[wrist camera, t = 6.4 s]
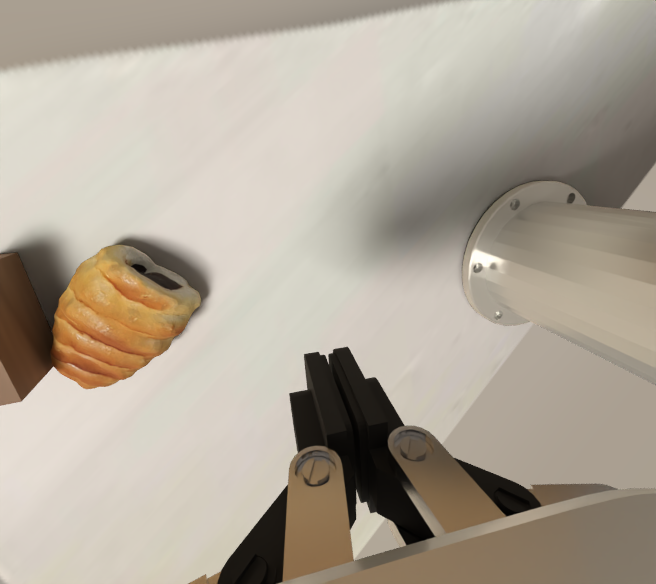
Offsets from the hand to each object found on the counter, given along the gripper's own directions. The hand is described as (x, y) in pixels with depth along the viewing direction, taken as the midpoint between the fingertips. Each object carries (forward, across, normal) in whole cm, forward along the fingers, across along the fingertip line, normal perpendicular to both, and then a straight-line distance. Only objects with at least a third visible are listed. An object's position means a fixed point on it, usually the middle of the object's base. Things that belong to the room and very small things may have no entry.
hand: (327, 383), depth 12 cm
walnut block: (+12, +16, -1) cm, 20 cm away
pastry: (+12, +11, 0) cm, 16 cm away
